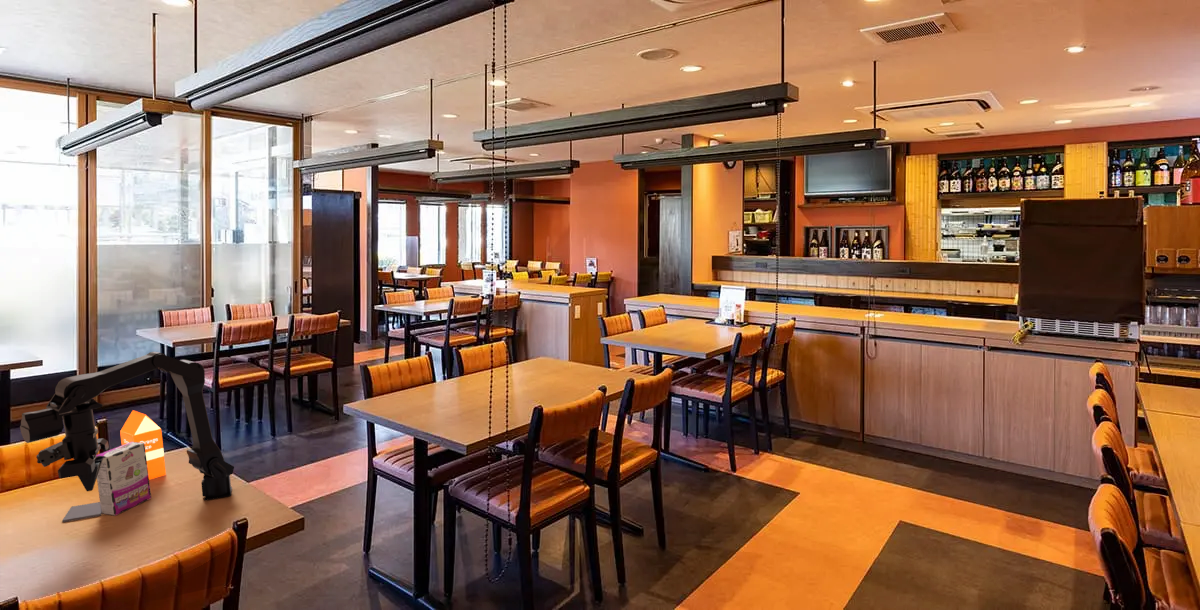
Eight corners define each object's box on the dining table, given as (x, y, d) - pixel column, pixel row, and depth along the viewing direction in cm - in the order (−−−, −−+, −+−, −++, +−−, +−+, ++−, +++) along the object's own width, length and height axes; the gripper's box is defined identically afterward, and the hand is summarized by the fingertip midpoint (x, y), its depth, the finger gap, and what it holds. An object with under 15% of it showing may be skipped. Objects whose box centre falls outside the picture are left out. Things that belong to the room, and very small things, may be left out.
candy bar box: (137, 497, 186) (131, 441, 184) (152, 498, 185) (146, 442, 183) (99, 514, 175) (92, 455, 173) (114, 516, 174) (108, 456, 172)
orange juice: (138, 483, 196) (130, 418, 193) (124, 477, 200) (117, 413, 198) (166, 474, 202) (160, 411, 199) (153, 468, 207) (146, 406, 204)
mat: (107, 502, 183) (107, 500, 182) (100, 515, 175) (100, 513, 175) (71, 508, 179) (71, 506, 179) (62, 522, 171) (62, 520, 171)
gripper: (49, 423, 164) (59, 483, 166) (24, 448, 147) (35, 514, 150) (104, 416, 168) (113, 474, 171) (86, 439, 152) (96, 503, 154)
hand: (89, 490), depth 161 cm, fingers closed
